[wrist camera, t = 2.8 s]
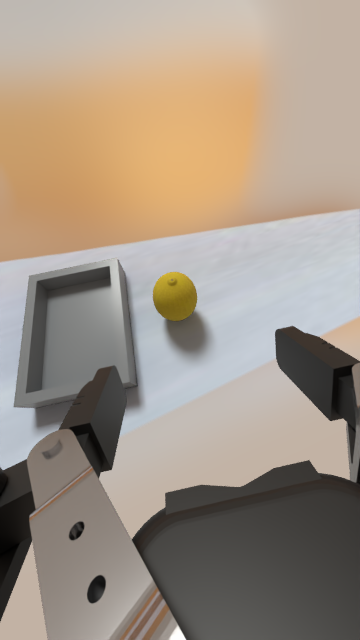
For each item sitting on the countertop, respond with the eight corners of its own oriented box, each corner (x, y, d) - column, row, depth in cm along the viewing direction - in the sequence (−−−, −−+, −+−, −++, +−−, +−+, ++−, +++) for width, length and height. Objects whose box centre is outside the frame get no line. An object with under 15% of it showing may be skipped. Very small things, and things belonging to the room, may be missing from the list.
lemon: (153, 324, 30) (140, 296, 23) (165, 291, 32) (155, 255, 25) (191, 333, 29) (190, 306, 22) (200, 299, 31) (202, 263, 24)
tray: (35, 408, 27) (13, 407, 23) (44, 288, 34) (29, 275, 31) (137, 385, 27) (129, 381, 24) (124, 271, 34) (117, 257, 31)
